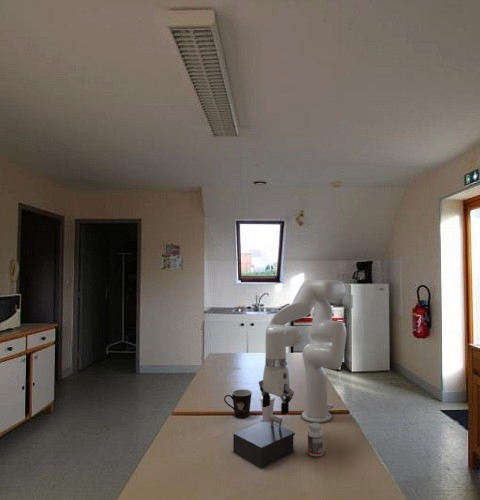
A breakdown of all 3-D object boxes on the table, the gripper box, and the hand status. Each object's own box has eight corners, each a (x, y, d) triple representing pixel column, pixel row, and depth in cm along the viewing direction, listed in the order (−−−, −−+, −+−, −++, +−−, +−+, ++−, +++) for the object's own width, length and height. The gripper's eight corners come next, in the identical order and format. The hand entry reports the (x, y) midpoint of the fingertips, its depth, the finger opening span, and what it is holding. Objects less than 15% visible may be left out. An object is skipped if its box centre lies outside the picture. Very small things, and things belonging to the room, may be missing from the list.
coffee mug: (255, 414, 169) (255, 391, 169) (244, 421, 162) (244, 397, 162) (234, 409, 175) (234, 387, 176) (222, 415, 168) (222, 392, 168)
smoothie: (273, 424, 159) (273, 390, 159) (258, 423, 160) (258, 389, 160) (276, 418, 165) (276, 385, 165) (261, 417, 166) (261, 384, 167)
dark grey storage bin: (265, 438, 145) (265, 423, 146) (293, 452, 135) (293, 435, 135) (233, 452, 135) (233, 435, 135) (261, 468, 124) (261, 450, 124)
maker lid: (266, 422, 146) (266, 409, 146) (295, 434, 136) (294, 420, 136) (233, 435, 135) (233, 421, 135) (261, 450, 124) (261, 434, 125)
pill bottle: (306, 449, 137) (306, 422, 137) (321, 449, 137) (320, 421, 137) (309, 457, 131) (309, 428, 132) (324, 456, 132) (324, 427, 132)
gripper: (300, 365, 136) (299, 413, 136) (266, 356, 149) (266, 401, 148) (285, 368, 131) (285, 419, 130) (252, 359, 144) (252, 406, 143)
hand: (275, 409), depth 139 cm, fingers open, 9 cm apart
